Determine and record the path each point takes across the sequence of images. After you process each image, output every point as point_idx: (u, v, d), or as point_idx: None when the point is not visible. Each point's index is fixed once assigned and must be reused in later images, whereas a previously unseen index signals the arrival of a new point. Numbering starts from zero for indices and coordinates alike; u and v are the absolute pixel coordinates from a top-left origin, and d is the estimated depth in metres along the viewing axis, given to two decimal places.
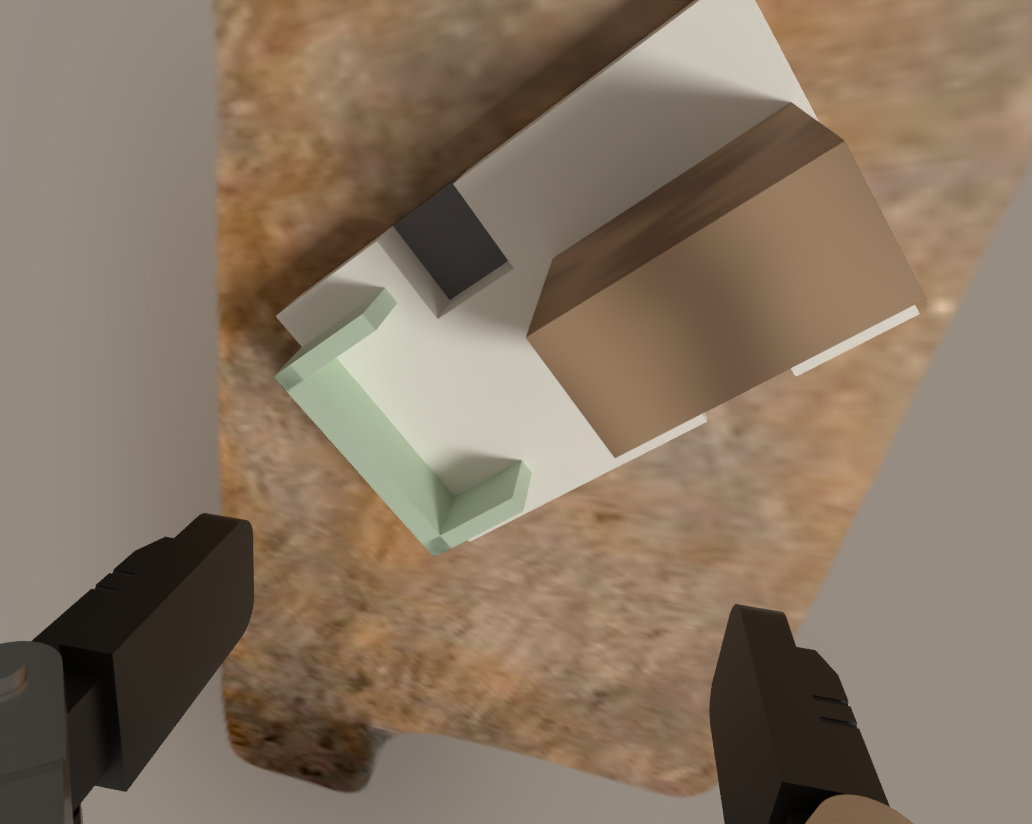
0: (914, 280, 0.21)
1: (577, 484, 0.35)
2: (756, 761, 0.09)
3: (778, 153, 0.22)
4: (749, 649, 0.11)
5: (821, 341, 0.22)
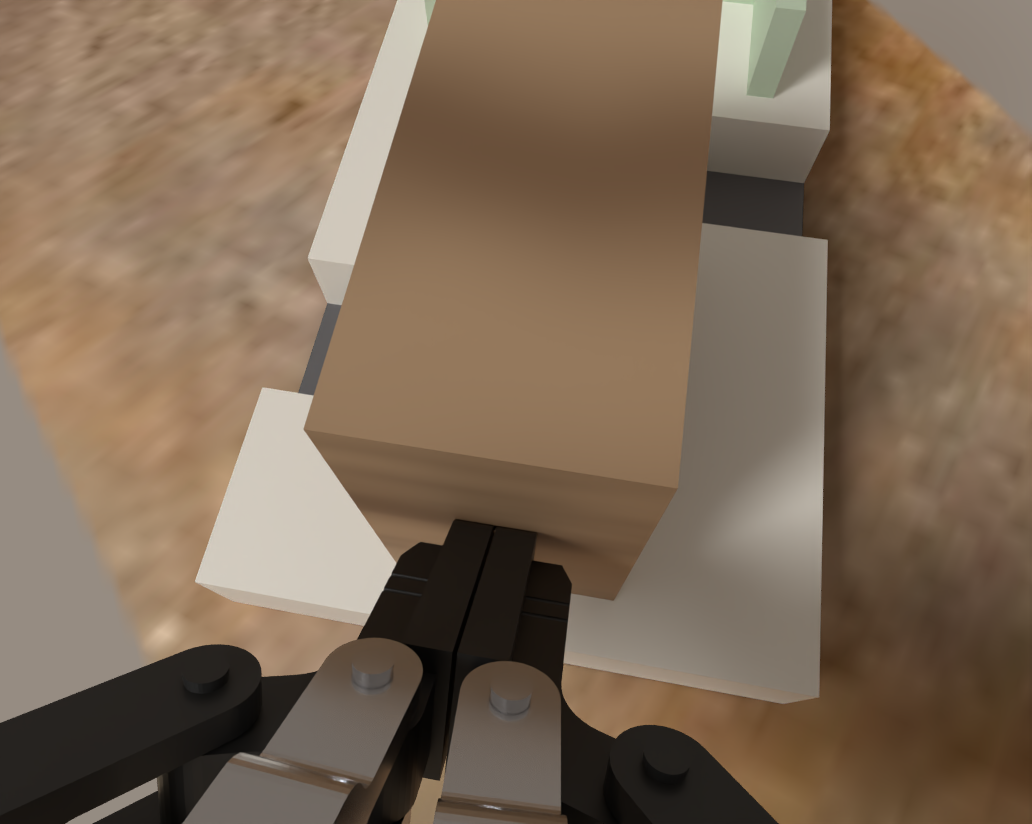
0: (351, 433, 0.10)
1: (371, 85, 0.24)
2: None
3: None
4: (487, 559, 0.12)
5: (377, 257, 0.11)
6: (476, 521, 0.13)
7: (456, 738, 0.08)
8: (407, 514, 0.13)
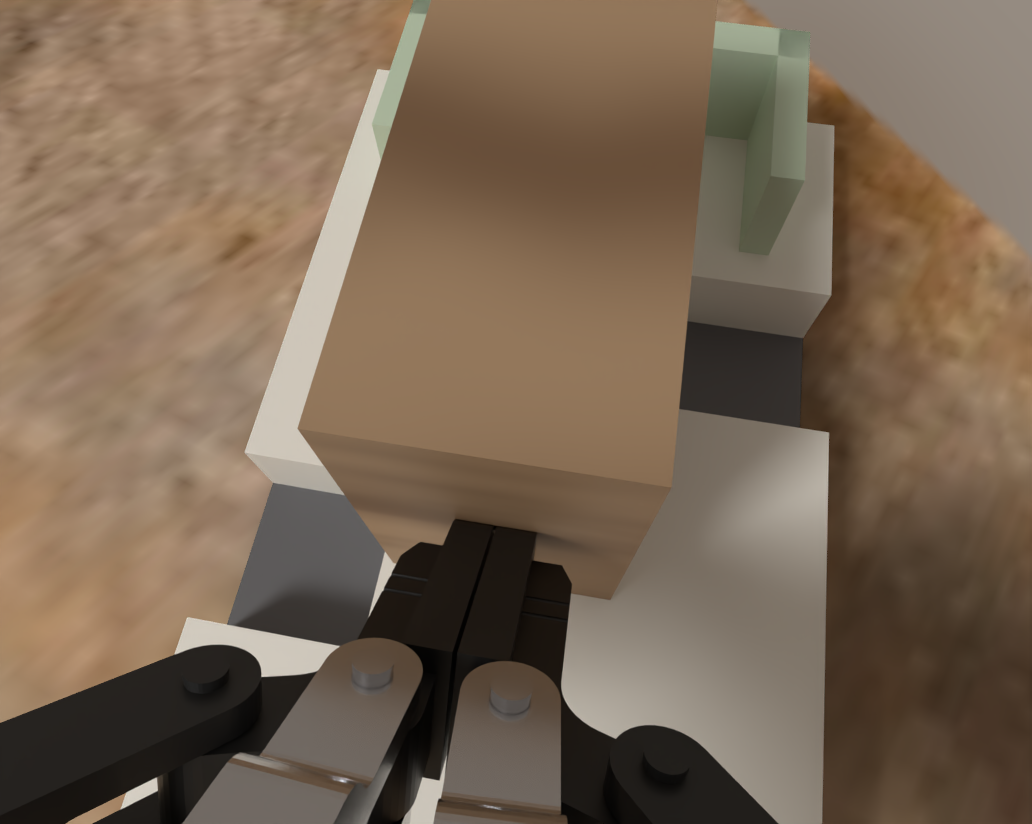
0: (345, 432, 0.10)
1: (323, 236, 0.21)
2: None
3: None
4: (486, 559, 0.12)
5: (372, 257, 0.11)
6: (471, 520, 0.13)
7: (456, 738, 0.08)
8: (403, 513, 0.13)
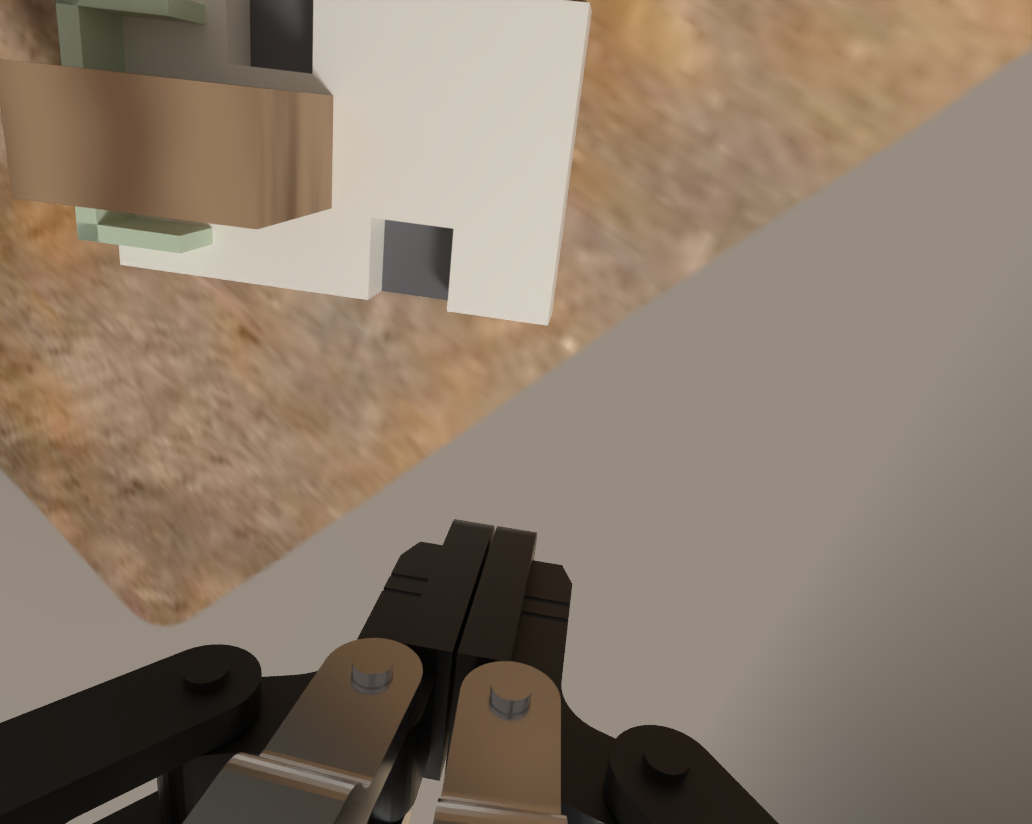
0: (255, 211, 0.29)
1: (241, 279, 0.38)
2: None
3: None
4: (487, 559, 0.12)
5: (185, 211, 0.29)
6: (291, 165, 0.31)
7: (456, 738, 0.08)
8: (293, 196, 0.32)
